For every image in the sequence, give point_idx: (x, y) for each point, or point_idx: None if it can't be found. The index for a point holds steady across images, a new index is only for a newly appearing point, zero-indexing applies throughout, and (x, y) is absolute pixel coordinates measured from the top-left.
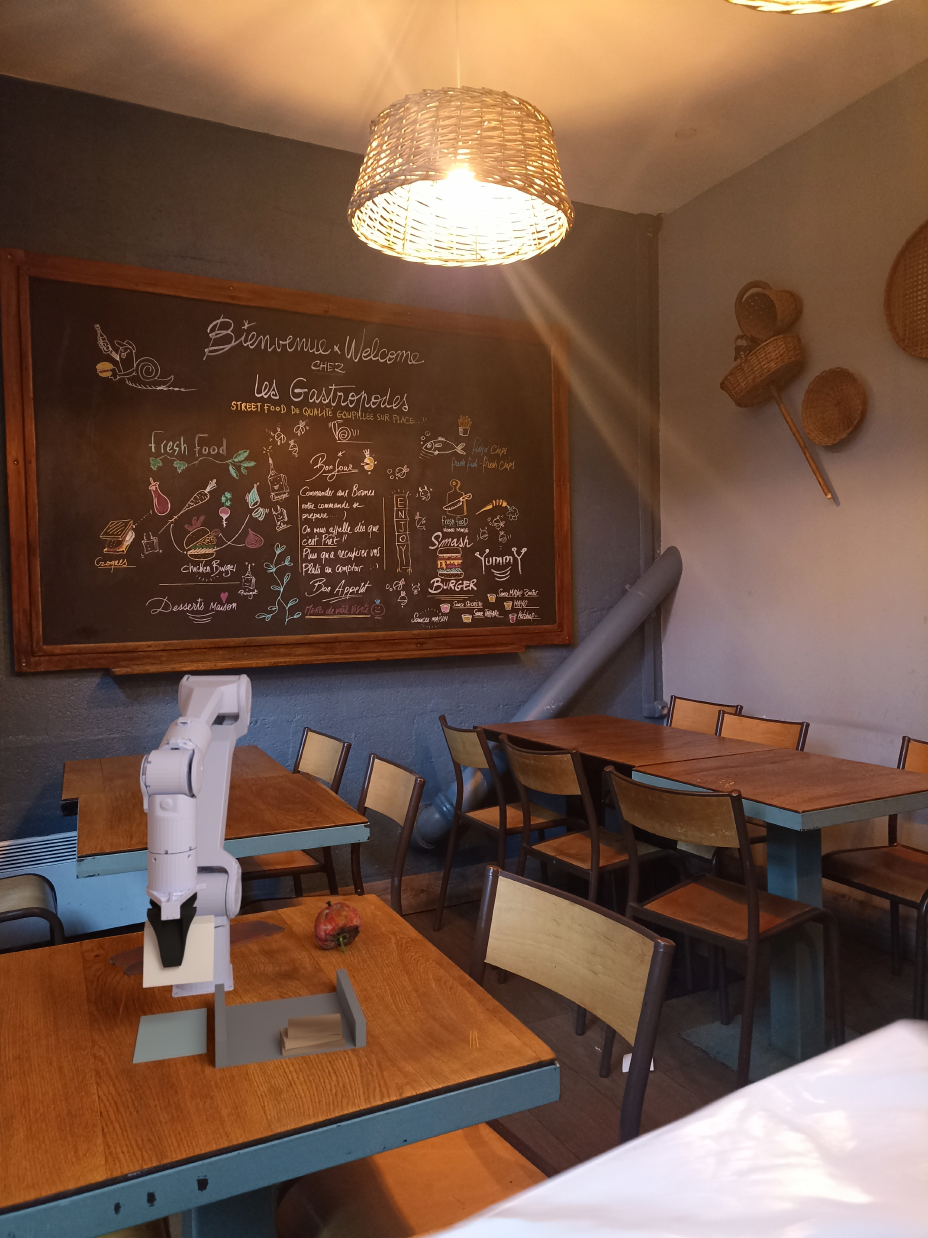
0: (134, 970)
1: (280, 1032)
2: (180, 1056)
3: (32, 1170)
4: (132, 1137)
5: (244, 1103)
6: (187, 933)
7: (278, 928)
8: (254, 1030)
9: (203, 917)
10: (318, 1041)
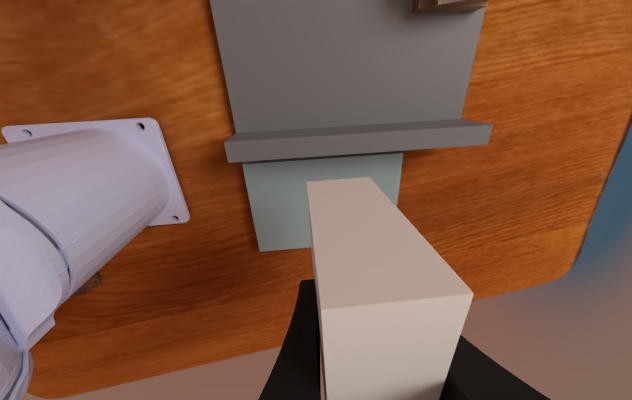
0: (82, 286)
1: (447, 3)
2: (398, 187)
3: (531, 276)
4: (537, 213)
5: (556, 87)
6: (486, 355)
7: None
8: (352, 69)
9: (355, 348)
10: None
